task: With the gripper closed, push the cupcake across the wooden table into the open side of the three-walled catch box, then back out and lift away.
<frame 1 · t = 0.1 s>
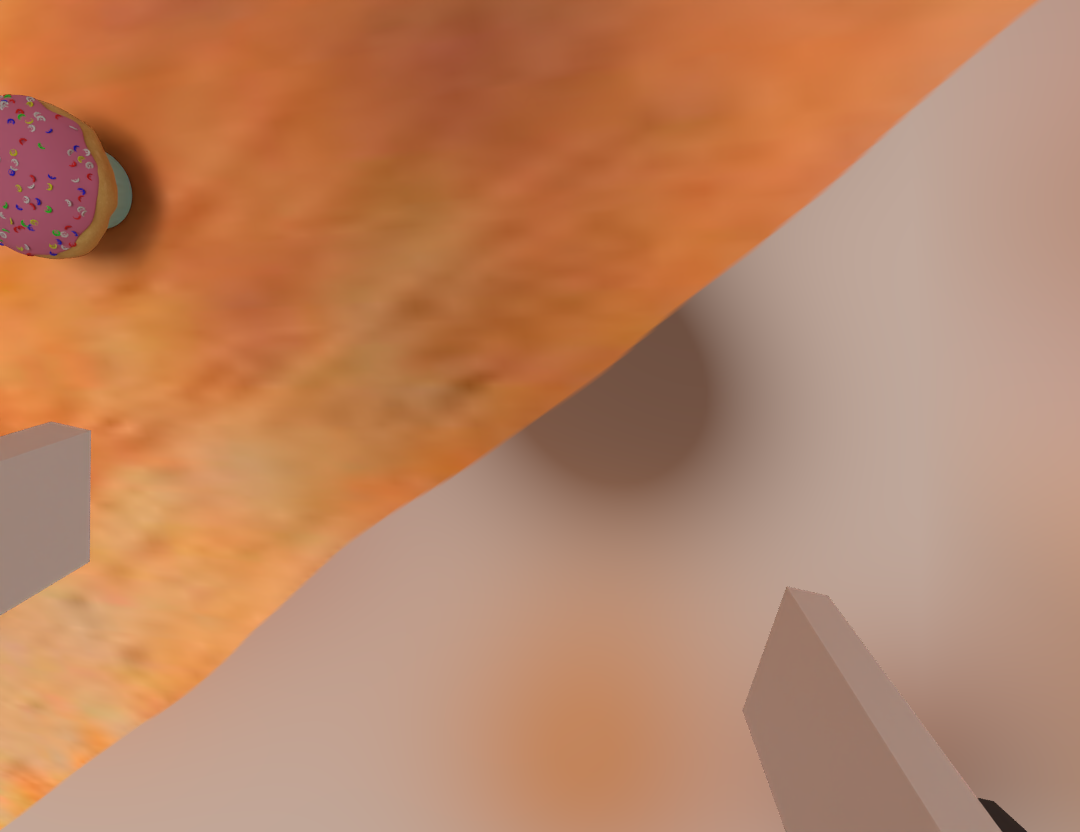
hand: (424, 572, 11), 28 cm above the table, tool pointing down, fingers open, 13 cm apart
cupcake: (101, 189, 38), on the table
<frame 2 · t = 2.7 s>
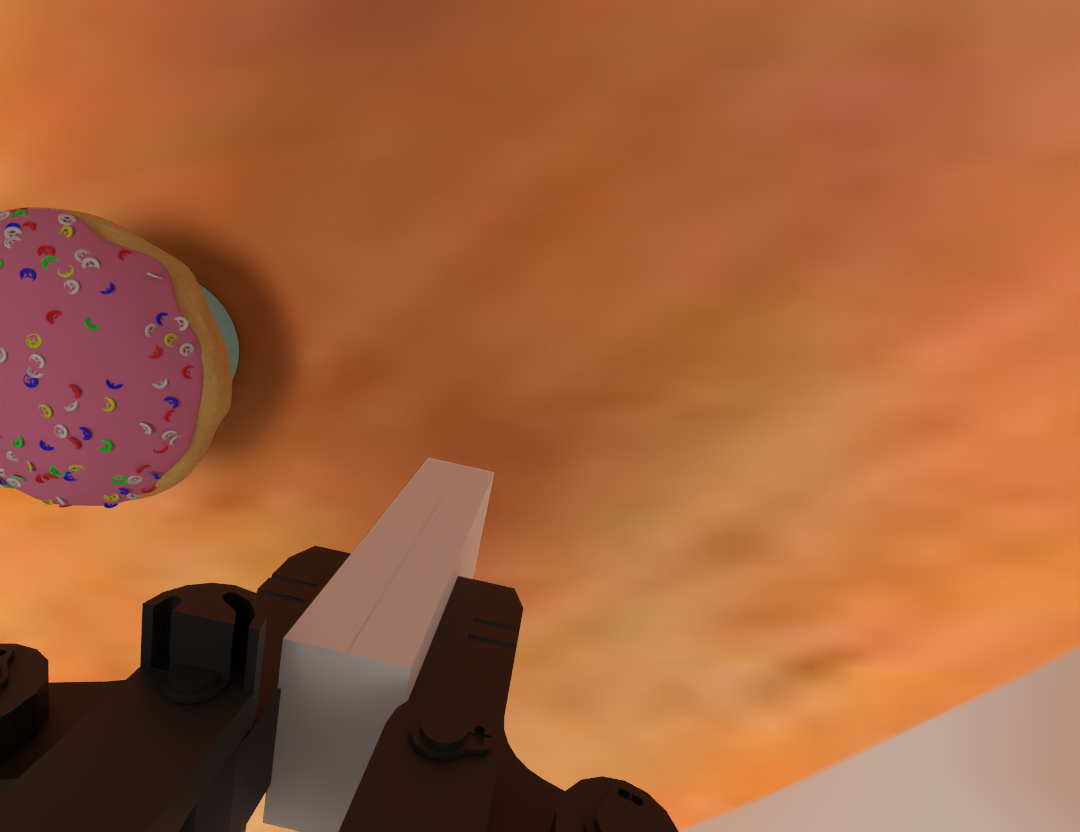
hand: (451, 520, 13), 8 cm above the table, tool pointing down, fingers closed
cupcake: (184, 340, 21), on the table
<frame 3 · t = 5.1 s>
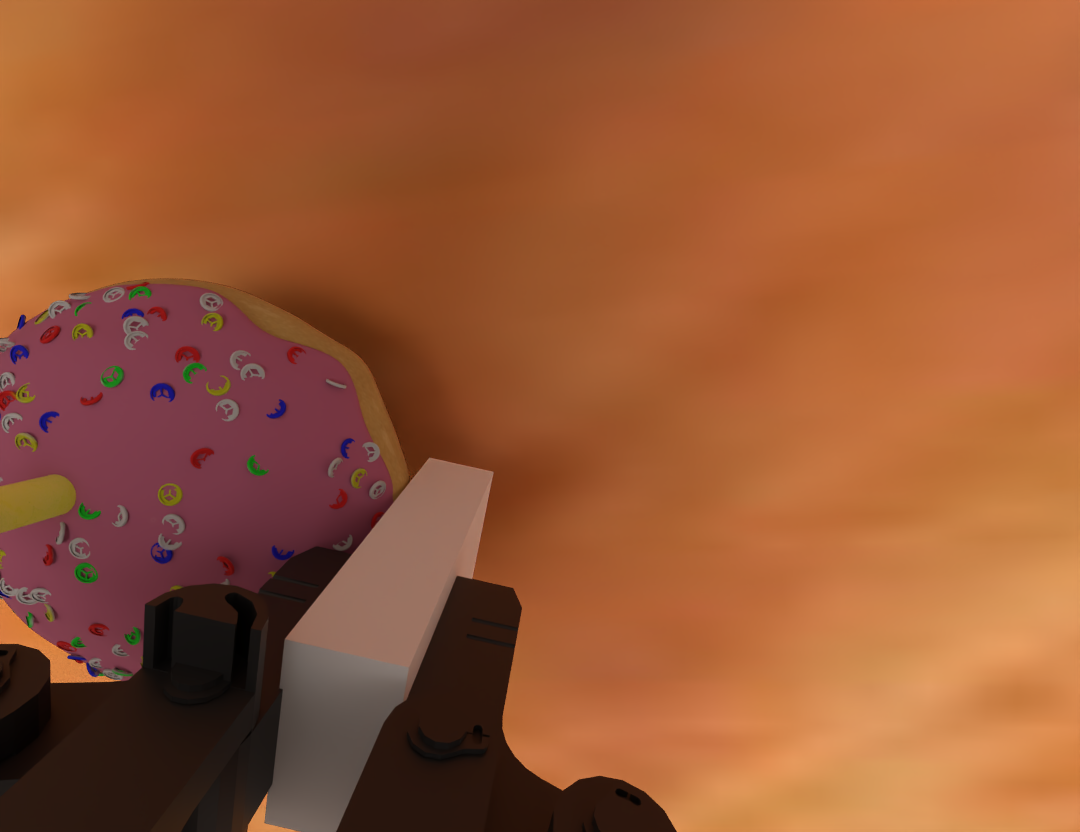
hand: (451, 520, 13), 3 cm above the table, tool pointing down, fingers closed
cupcake: (304, 430, 16), on the table, touching gripper
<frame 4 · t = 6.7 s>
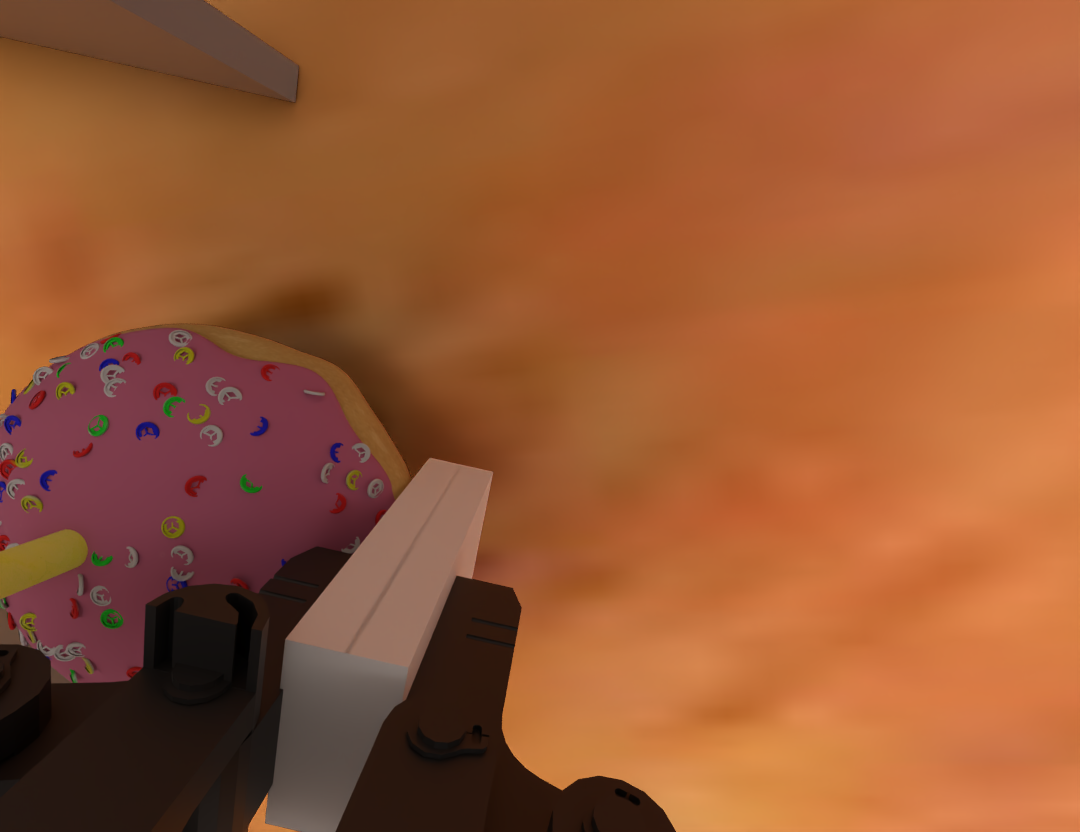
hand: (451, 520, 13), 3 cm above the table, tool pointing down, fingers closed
catch box: (7, 359, 16), on the table
cupcake: (312, 457, 17), on the table, touching gripper
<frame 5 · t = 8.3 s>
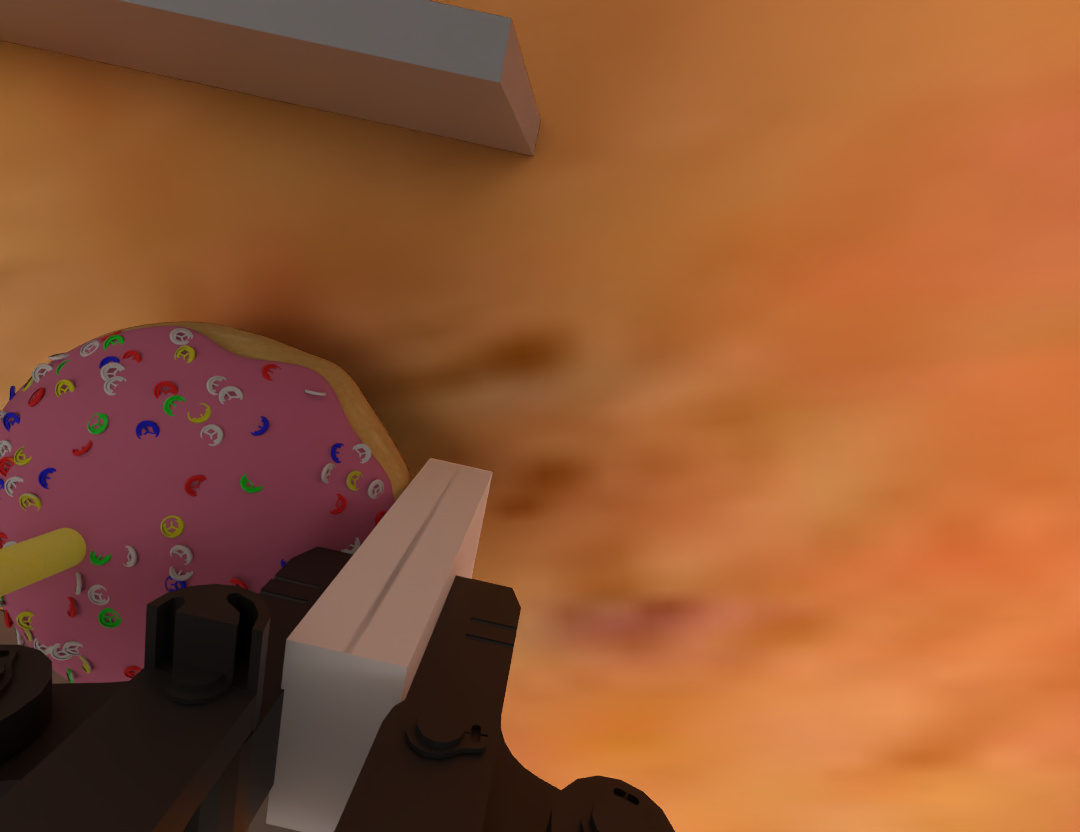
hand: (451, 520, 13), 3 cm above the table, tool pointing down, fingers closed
catch box: (212, 409, 16), on the table
cupcake: (312, 456, 17), on the table, touching gripper
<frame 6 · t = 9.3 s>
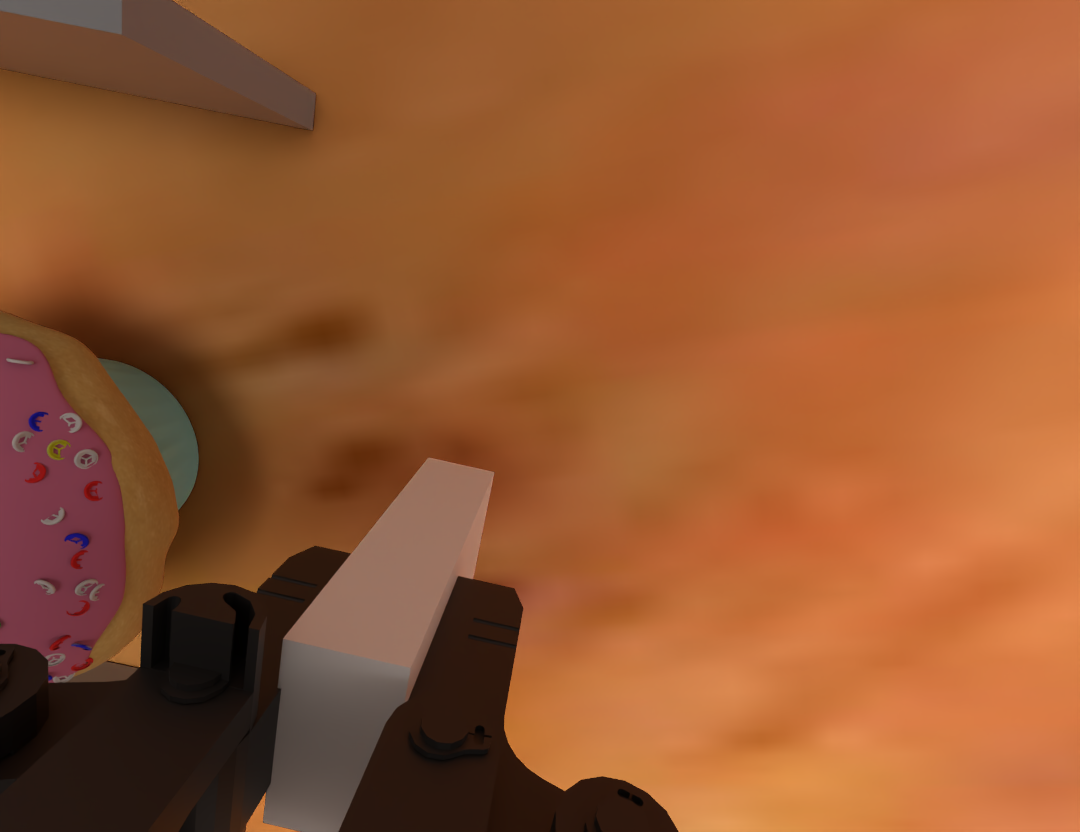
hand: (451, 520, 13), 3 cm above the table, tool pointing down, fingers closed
catch box: (23, 394, 16), on the table
cupcake: (127, 440, 16), on the table
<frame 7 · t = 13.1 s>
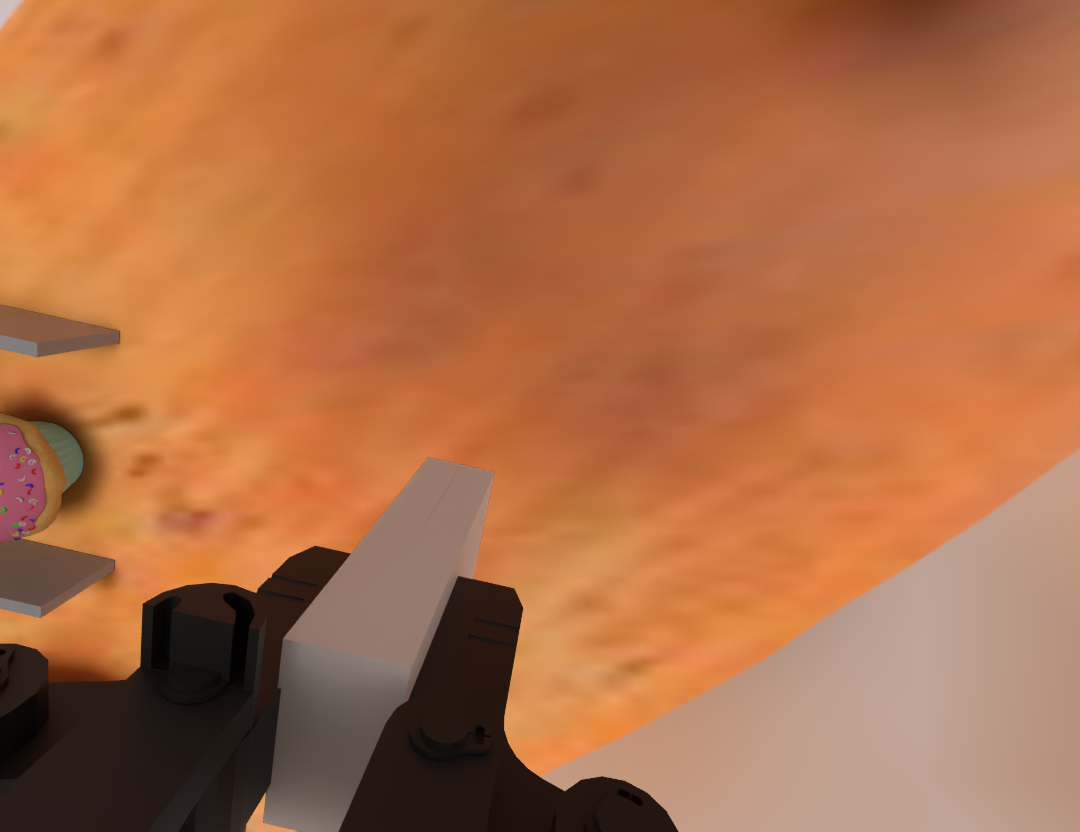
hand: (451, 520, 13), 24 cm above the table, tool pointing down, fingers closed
catch box: (14, 434, 41), on the table
cupcake: (55, 452, 41), on the table
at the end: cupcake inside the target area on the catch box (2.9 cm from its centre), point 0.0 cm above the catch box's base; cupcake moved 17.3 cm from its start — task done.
